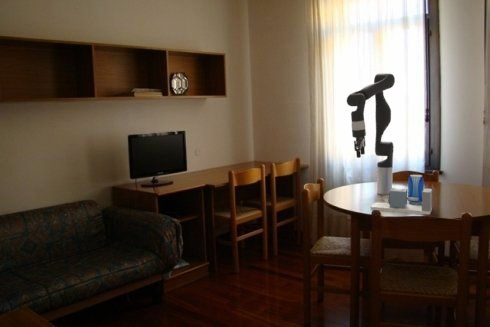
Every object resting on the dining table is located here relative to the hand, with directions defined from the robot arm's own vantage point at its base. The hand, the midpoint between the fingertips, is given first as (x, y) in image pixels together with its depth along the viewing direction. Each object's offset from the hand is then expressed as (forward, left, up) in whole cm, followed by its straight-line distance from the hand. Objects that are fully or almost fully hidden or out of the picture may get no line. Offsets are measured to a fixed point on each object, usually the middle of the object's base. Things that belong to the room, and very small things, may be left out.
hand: (360, 155), depth 265 cm
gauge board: (+11, +25, -27) cm, 38 cm away
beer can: (-8, +30, -28) cm, 41 cm away
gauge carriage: (+12, +26, -26) cm, 38 cm away
